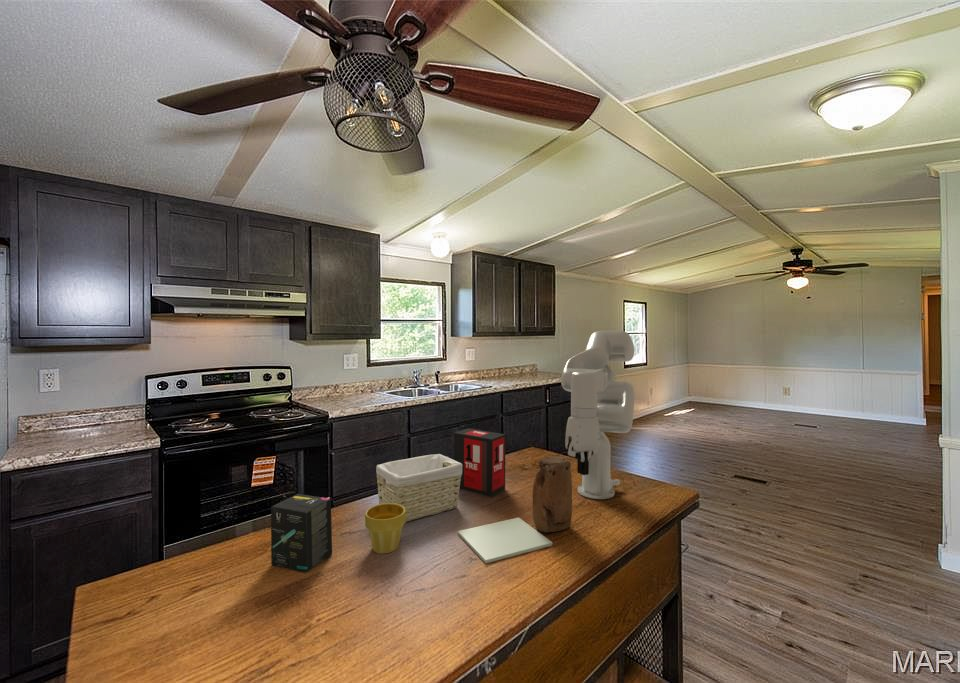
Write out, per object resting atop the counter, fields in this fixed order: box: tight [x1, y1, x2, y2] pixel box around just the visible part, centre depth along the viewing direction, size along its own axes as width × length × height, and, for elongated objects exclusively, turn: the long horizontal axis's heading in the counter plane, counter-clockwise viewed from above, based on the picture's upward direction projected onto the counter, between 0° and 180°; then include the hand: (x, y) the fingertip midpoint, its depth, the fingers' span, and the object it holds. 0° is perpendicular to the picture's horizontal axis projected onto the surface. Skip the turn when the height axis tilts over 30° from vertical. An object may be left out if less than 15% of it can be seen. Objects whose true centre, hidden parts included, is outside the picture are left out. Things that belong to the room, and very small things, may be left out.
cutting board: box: [457, 517, 553, 564], centre depth 117 cm, size 20×17×1 cm
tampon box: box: [270, 493, 333, 574], centre depth 106 cm, size 11×9×15 cm
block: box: [532, 455, 573, 533], centre depth 124 cm, size 11×8×20 cm
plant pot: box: [364, 503, 406, 554], centre depth 112 cm, size 10×10×10 cm
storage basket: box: [375, 453, 463, 523], centre depth 137 cm, size 24×16×15 cm
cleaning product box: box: [453, 428, 506, 499], centre depth 155 cm, size 16×9×20 cm, turn 55°
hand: (582, 473), depth 129 cm, fingers closed
